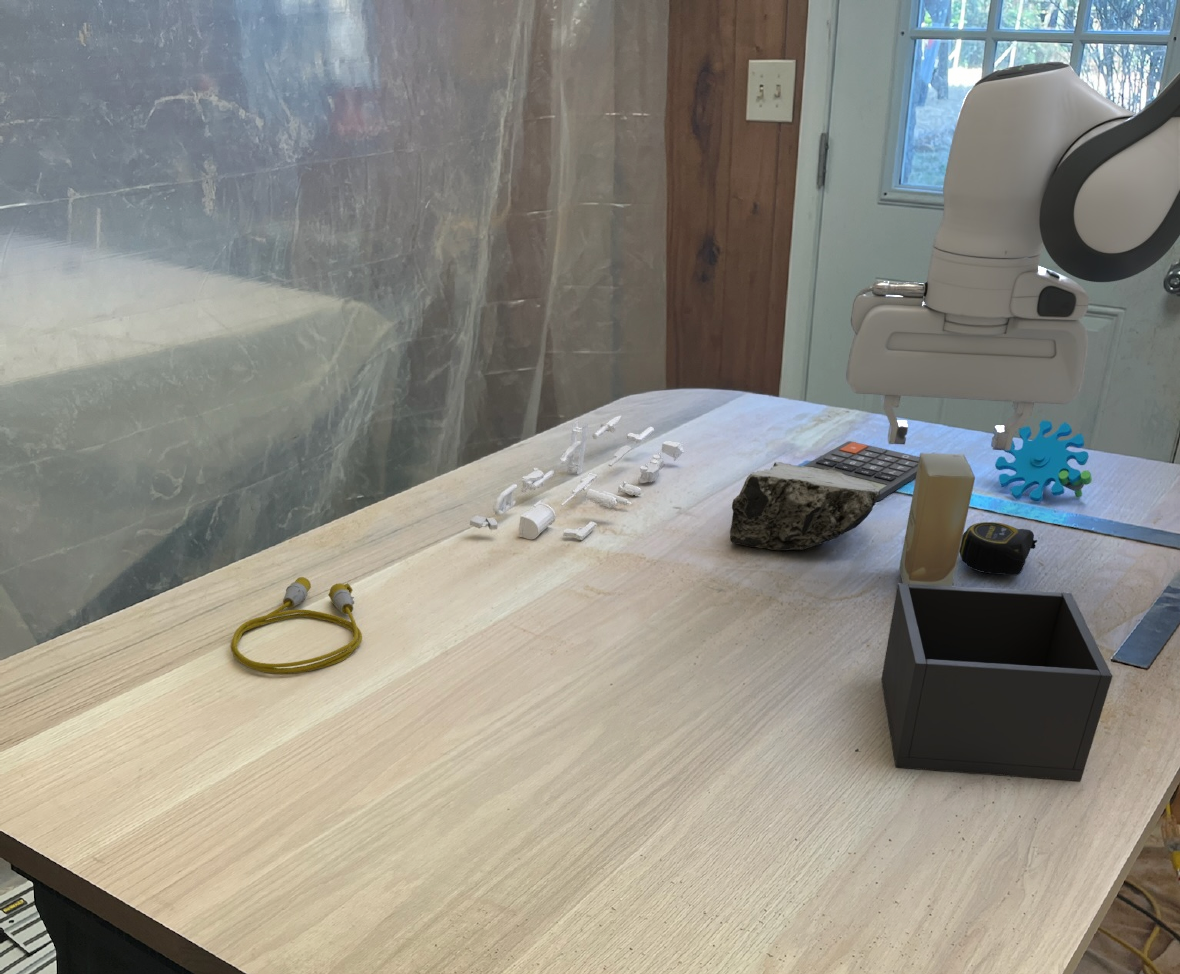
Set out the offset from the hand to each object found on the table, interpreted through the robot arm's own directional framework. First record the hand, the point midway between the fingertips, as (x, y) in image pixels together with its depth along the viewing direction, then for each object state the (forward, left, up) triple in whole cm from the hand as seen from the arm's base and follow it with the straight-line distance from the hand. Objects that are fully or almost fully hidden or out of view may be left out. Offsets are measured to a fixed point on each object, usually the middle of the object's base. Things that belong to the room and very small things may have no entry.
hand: (947, 445), depth 106 cm
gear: (-16, -27, -14) cm, 34 cm away
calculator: (+4, -31, -14) cm, 34 cm away
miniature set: (+35, -19, -14) cm, 42 cm away
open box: (-1, +27, -14) cm, 30 cm away
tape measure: (-8, -5, -14) cm, 17 cm away
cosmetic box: (0, 0, -14) cm, 14 cm away
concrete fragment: (+12, -10, -14) cm, 21 cm away
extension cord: (+57, +19, -14) cm, 62 cm away
